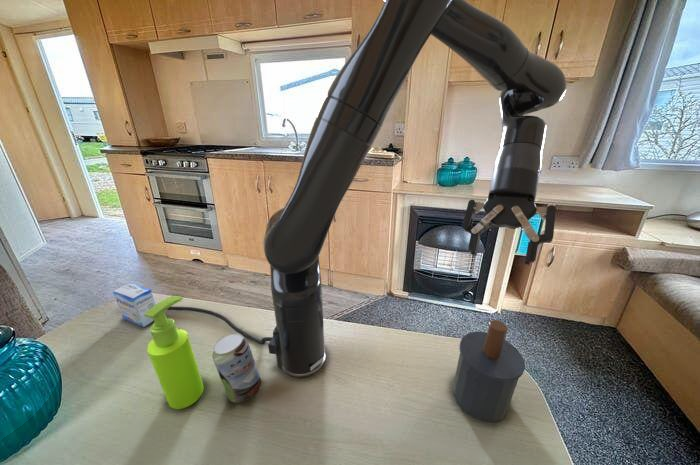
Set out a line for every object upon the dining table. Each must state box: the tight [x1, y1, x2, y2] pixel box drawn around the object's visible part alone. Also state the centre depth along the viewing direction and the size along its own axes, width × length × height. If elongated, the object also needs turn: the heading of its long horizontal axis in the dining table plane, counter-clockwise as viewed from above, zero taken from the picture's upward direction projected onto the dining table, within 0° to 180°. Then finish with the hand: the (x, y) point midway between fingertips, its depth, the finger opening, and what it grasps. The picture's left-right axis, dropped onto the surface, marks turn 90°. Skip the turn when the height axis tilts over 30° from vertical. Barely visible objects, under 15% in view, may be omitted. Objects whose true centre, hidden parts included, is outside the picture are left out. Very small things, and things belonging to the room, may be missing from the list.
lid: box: [459, 319, 526, 381], centre depth 46 cm, size 10×10×7 cm
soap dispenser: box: [144, 295, 205, 410], centre depth 48 cm, size 6×7×20 cm
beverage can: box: [211, 332, 262, 404], centre depth 50 cm, size 6×7×12 cm
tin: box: [452, 352, 520, 423], centre depth 49 cm, size 9×9×10 cm
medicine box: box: [112, 282, 157, 328], centre depth 69 cm, size 8×4×9 cm, turn 68°
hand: (499, 259), depth 49 cm, fingers open, 8 cm apart
